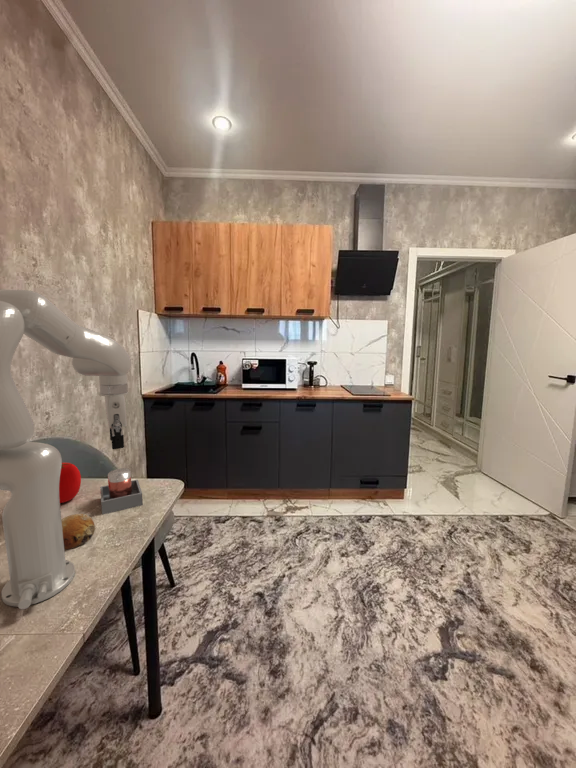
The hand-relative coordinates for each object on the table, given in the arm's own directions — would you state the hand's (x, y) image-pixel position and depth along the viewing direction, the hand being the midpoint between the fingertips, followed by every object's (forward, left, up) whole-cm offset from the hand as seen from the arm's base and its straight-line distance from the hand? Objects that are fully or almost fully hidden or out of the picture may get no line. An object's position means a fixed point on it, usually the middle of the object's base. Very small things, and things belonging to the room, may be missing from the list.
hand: (117, 443), depth 102 cm
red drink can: (0, 0, -19) cm, 19 cm away
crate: (0, 0, -20) cm, 20 cm away
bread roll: (-15, +12, -20) cm, 27 cm away
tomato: (+11, +16, -20) cm, 28 cm away
